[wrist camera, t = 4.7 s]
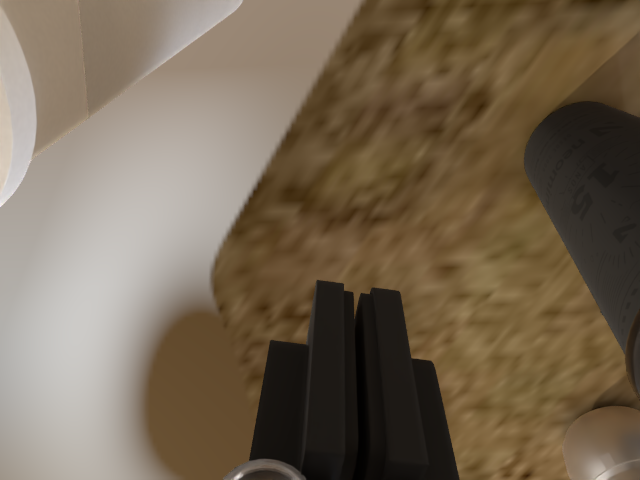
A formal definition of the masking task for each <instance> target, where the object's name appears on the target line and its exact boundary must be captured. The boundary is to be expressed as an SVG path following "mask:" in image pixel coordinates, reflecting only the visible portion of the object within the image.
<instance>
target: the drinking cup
mask: <svg viewBox="0 0 640 480" xmlns="http://www.w3.org/2000/svg"><path fill="white" fill-rule="evenodd" d="M524 166H525V171H526V174H527V176H528V178H529V180H530V182H531V184H532V186H533V188H534V189H535V191H536V193H537V195H538V197H539V199H540V200H541V202H542V204H543V206H544V208H545V209H546V211H547V213H548V215H549V217H550V219H551V220H552V222H553V224H554V226H555V228H556V230H557V231H558V233H559V235H560V237H561V239H562V241H563V242H564V244H565V246H566V248H567V250H568V251H569V253H570V255H571V257H572V259H573V261H574V262H575V264H576V266H577V268H578V270H579V272H580V273H581V275H582V277H583V279H584V281H585V283H586V284H587V286H588V288H589V290H590V292H591V293H592V295H593V297H594V299H595V301H596V303H597V304H598V306H599V308H600V310H601V312H602V314H603V315H604V317H605V319H606V321H607V323H608V325H609V326H610V328H611V330H612V332H613V334H614V335H615V337H616V339H617V341H618V343H619V345H620V346H621V348H622V350H623V352H624V354H625V363H626V371H627V375H628V379H629V382H630V384H631V386H632V388H633V390H634V392H635V394H636V395H637V397H638V398H639V400H640V118H639V117H637V116H634V115H631V114H629V113H626V112H624V111H621V110H618V109H616V108H613V107H610V106H608V105H605V104H602V103H597V102H579V103H574V104H571V105H568V106H565V107H563V108H561V109H559V110H557V111H555V112H554V113H552V114H551V115H549V116H548V117H547V118H546V119H544V120H543V121H542V122H541V123H540V124H539V126H538V127H537V128H536V129H535V131H534V132H533V134H532V135H531V137H530V139H529V141H528V144H527V146H526V150H525V155H524Z"/></svg>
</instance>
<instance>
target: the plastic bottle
mask: <svg viewBox="0 0 640 480" xmlns="http://www.w3.org/2000/svg"><path fill="white" fill-rule="evenodd" d="M563 455H564V460H565V464H566V468H567V472H568V475H569V477H570V479H571V480H640V411H639V410H636V409H633V408H630V407H625V406H607V407H602V408H598V409H595V410H592V411H589V412H587V413H585V414H583V415H581V416H580V417H579V418H577V419H576V420H575V421H574V422H573V423H572V424H571V425H570V427H569V428H568V430H567V433H566V436H565V439H564V442H563Z"/></svg>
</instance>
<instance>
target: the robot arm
mask: <svg viewBox="0 0 640 480" xmlns="http://www.w3.org/2000/svg"><path fill="white" fill-rule="evenodd" d="M223 480H459V475H458V471H457V466H456V461H455V457H454V452H453V448H452V443H451V439H450V434H449V429H448V425H447V420H446V416H445V411H444V407H443V402H442V397H441V393H440V388H439V384H438V379H437V375H436V370H435V367H434V364H433V363H432V362H431V361H428V360H420V359H412V358H411V354H410V348H409V342H408V336H407V330H406V324H405V318H404V312H403V306H402V300H401V294H400V292H399V291H395V290H388V289H380V288H372V289H371V291H370V294H364V293H361V294H360V297H359V301H358V306H357V311H356V315H355V320H354V296H353V292H349V291H344V284H343V283H336V282H328V281H321V280H317V281H316V286H315V292H314V299H313V305H312V311H311V317H310V323H309V329H308V335H307V341H306V345H305V344H297V343H289V342H281V341H274V340H271V341H270V345H269V351H268V356H267V362H266V368H265V373H264V379H263V385H262V390H261V396H260V402H259V408H258V413H257V419H256V425H255V430H254V436H253V442H252V447H251V453H250V459H249V461H248V462H246V463H244V464H242V465H239V466H237V467H235V468H234V469H233V470H232V471H231V472H230V473H229V474H228V475H226V476H225V477H224V479H223Z"/></svg>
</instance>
